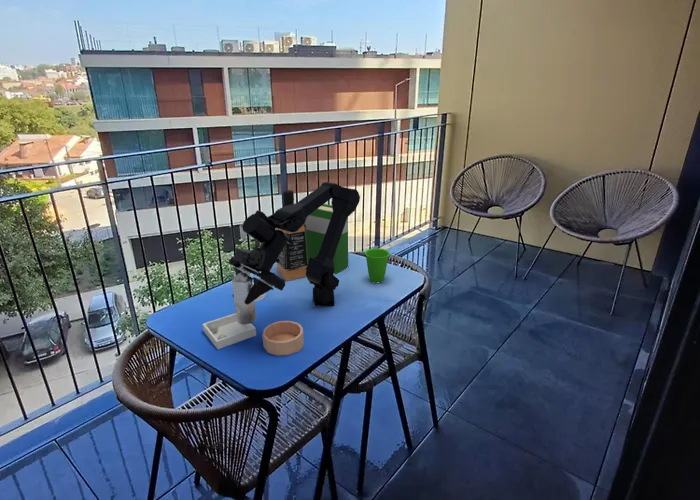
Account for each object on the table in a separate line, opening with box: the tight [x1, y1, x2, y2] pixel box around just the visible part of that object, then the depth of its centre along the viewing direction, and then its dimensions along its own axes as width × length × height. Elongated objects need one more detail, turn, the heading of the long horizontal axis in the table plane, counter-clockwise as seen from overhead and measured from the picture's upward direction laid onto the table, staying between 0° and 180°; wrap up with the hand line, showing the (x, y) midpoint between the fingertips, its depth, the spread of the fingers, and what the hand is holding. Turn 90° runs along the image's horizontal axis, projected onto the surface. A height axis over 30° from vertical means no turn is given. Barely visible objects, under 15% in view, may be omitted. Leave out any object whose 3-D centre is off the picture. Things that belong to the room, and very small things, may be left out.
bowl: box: [262, 320, 305, 356], centre depth 113 cm, size 11×11×4 cm
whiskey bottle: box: [275, 189, 308, 281], centre depth 151 cm, size 10×10×32 cm
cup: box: [364, 247, 391, 284], centre depth 149 cm, size 9×9×11 cm
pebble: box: [209, 324, 218, 333], centre depth 118 cm, size 2×2×2 cm
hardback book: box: [304, 203, 349, 275], centre depth 160 cm, size 18×7×24 cm, turn 54°
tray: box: [202, 312, 257, 350], centre depth 118 cm, size 11×11×3 cm
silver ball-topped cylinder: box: [231, 273, 257, 324], centre depth 110 cm, size 5×5×14 cm
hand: (239, 300), depth 109 cm, fingers closed on silver ball-topped cylinder, 5 cm apart
